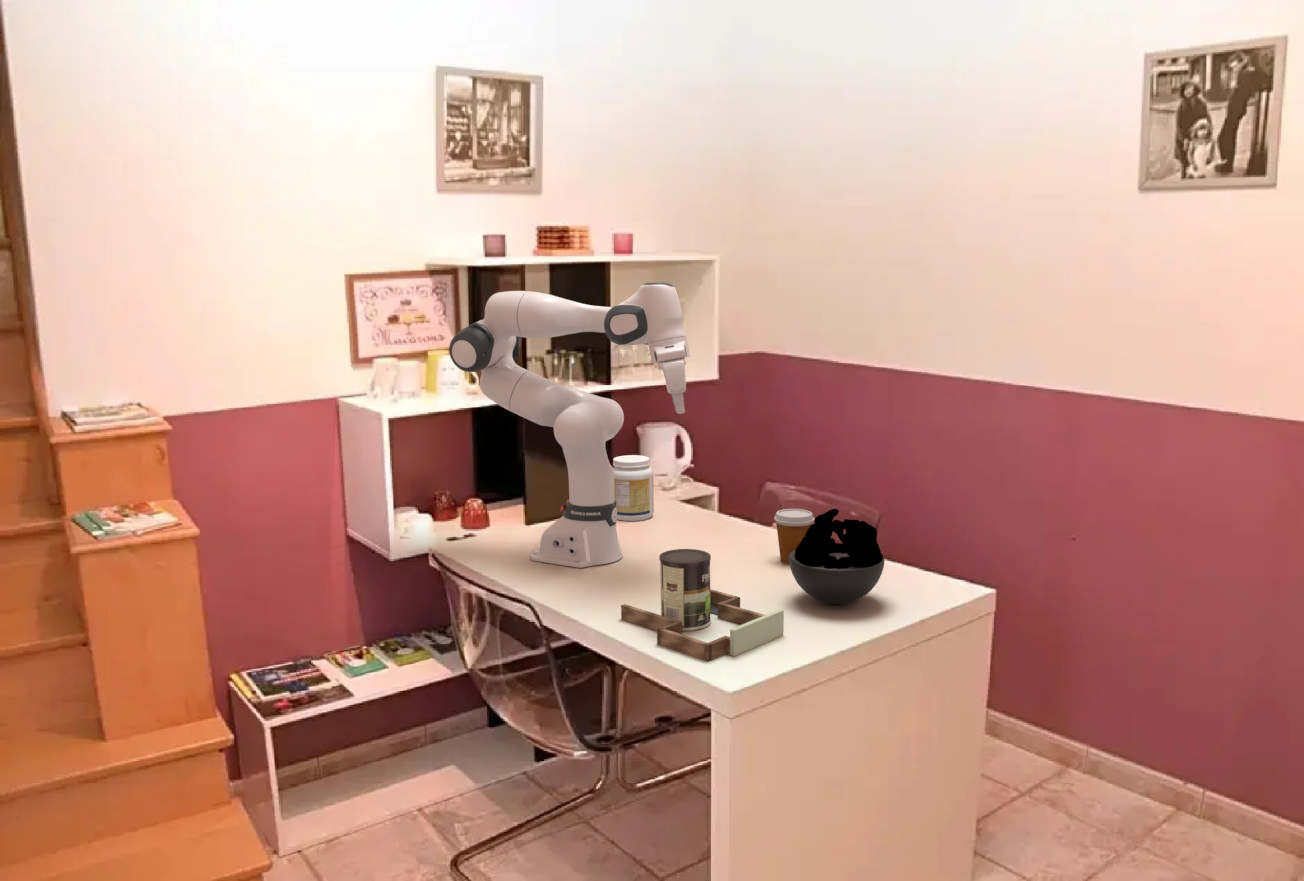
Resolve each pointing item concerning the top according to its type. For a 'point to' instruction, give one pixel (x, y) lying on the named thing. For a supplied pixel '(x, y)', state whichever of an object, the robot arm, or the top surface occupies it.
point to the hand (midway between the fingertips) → (680, 412)
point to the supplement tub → (633, 487)
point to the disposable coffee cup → (791, 529)
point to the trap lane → (673, 638)
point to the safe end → (756, 632)
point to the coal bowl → (837, 560)
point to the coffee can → (686, 587)
